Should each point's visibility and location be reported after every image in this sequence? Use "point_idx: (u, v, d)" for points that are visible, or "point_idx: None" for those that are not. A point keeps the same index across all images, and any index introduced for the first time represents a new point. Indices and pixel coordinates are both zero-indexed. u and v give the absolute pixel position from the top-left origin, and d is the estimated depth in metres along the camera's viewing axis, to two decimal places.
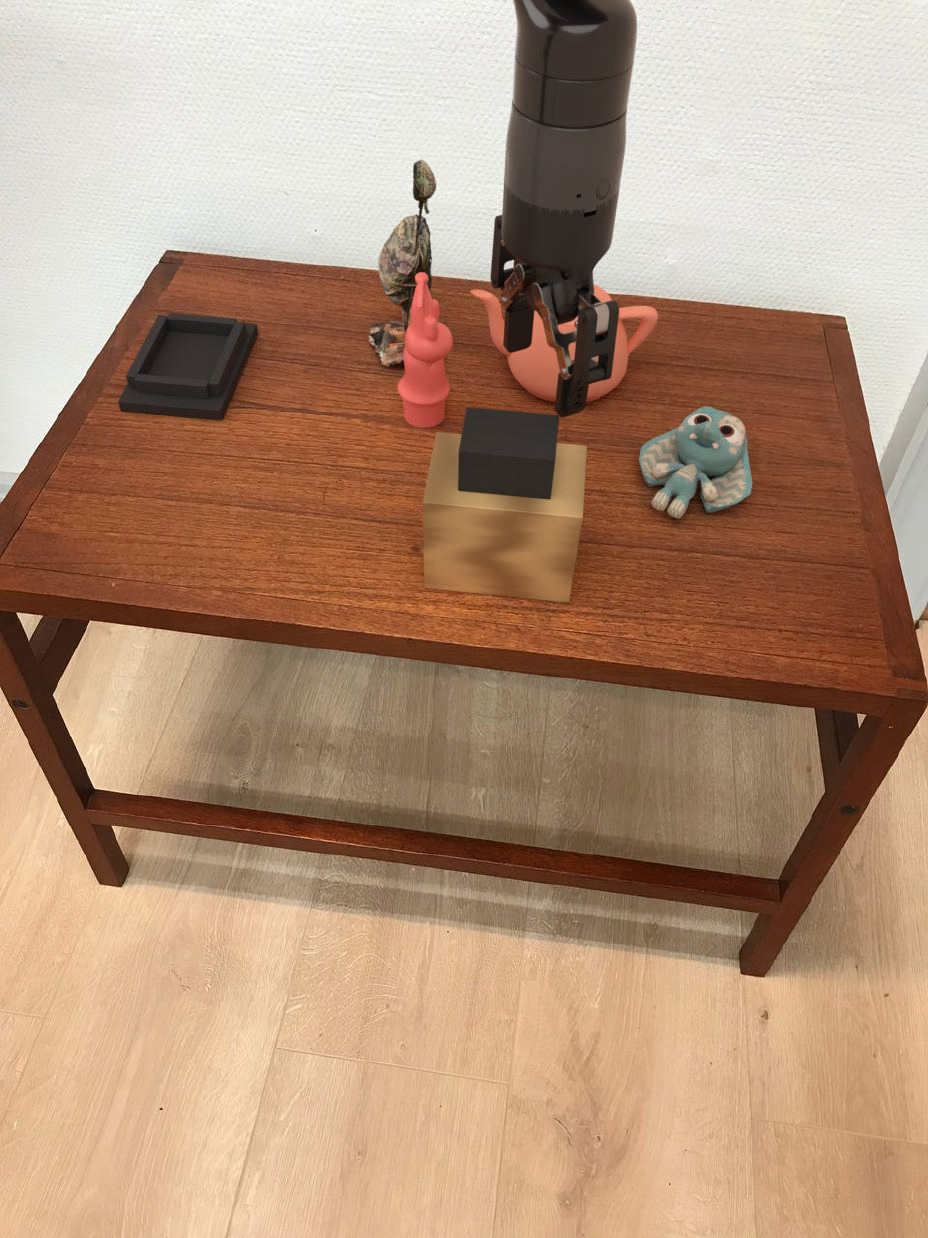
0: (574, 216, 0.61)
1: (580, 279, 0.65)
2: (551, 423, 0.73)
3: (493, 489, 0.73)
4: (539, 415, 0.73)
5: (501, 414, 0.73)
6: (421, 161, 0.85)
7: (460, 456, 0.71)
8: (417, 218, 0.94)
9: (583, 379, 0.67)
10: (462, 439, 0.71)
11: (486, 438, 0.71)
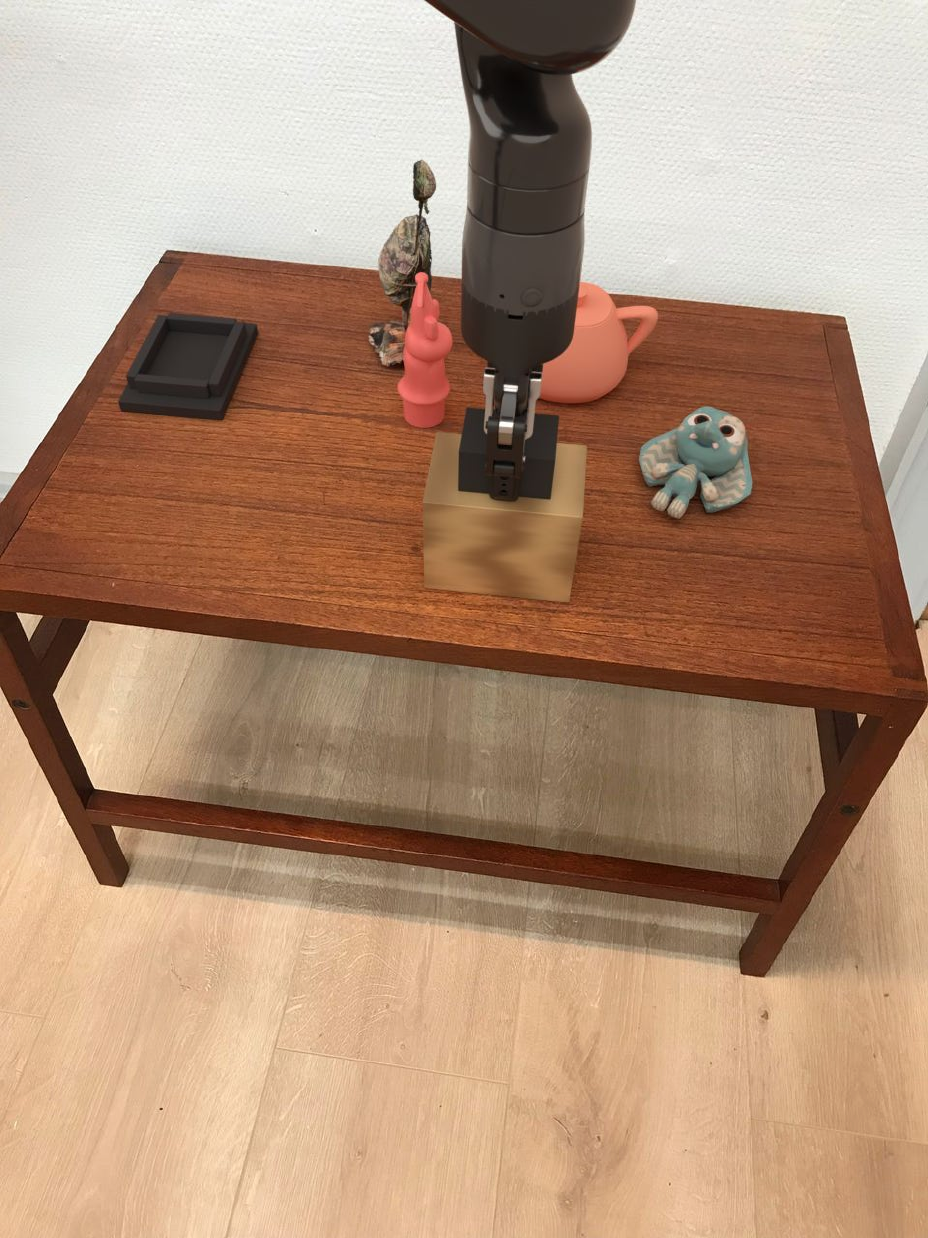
0: (498, 314, 0.60)
1: (509, 378, 0.63)
2: (551, 423, 0.73)
3: None
4: (539, 415, 0.73)
5: None
6: (421, 161, 0.85)
7: (460, 456, 0.71)
8: (417, 218, 0.94)
9: (488, 471, 0.67)
10: (462, 439, 0.71)
11: (486, 438, 0.71)
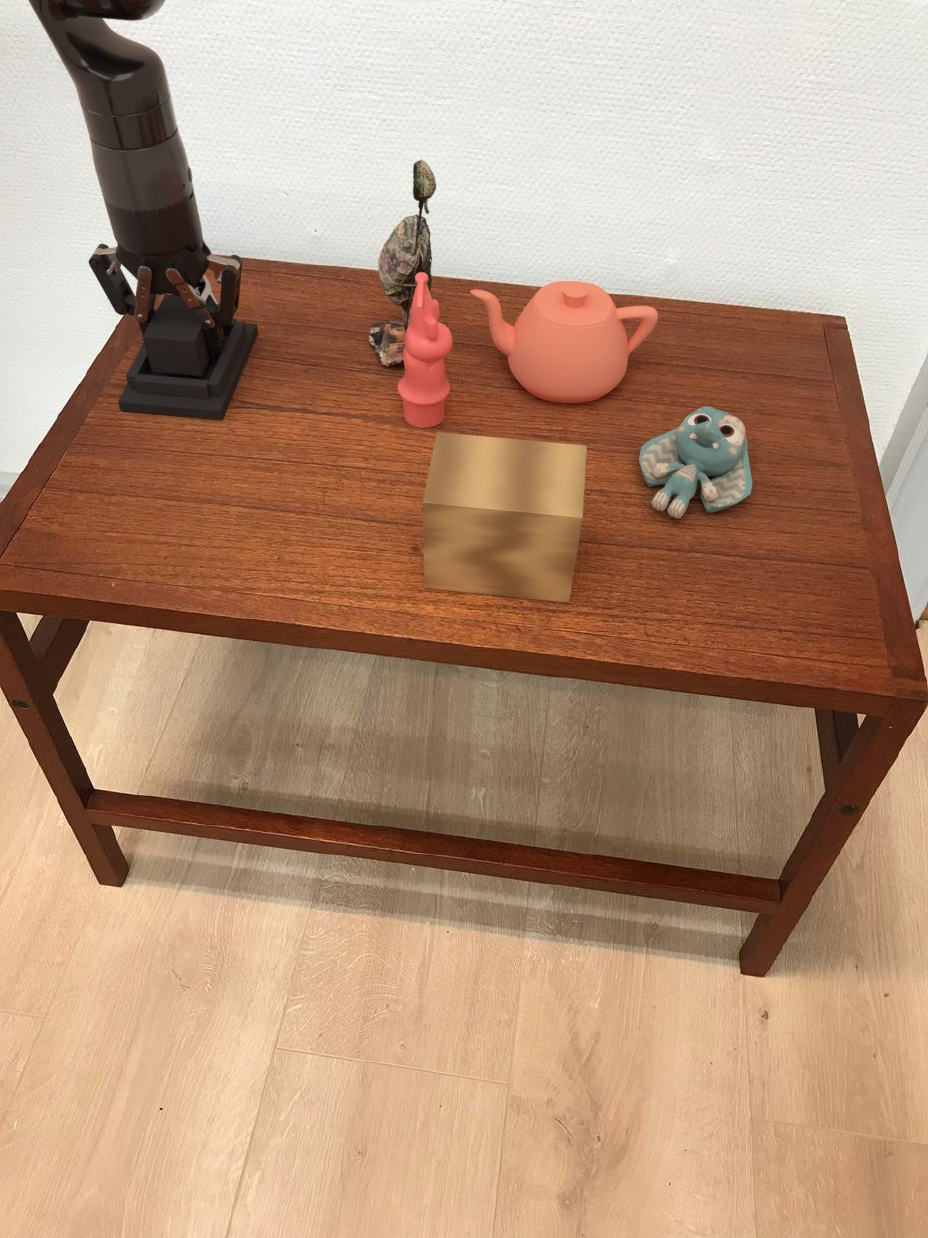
0: (186, 201, 0.82)
1: (201, 245, 0.87)
2: (173, 298, 0.95)
3: None
4: (163, 302, 0.94)
5: (156, 320, 0.93)
6: (421, 161, 0.85)
7: (195, 345, 0.91)
8: (417, 218, 0.94)
9: (232, 316, 0.91)
10: (181, 339, 0.91)
11: (183, 328, 0.92)
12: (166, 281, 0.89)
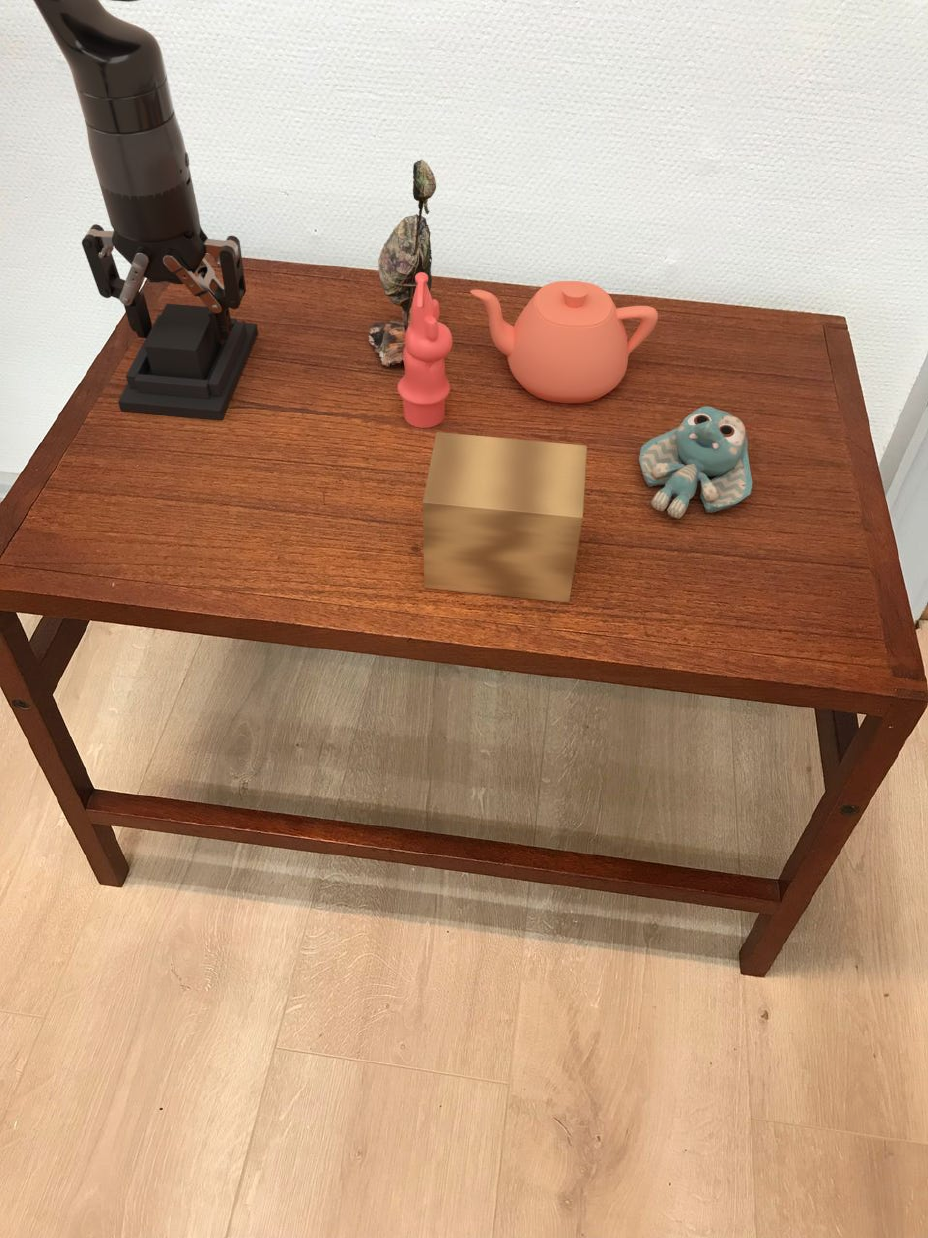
0: (183, 187, 0.82)
1: (198, 232, 0.86)
2: (175, 307, 0.96)
3: (210, 363, 0.96)
4: (164, 311, 0.95)
5: (158, 329, 0.93)
6: (421, 161, 0.85)
7: (197, 353, 0.92)
8: (417, 218, 0.94)
9: (239, 300, 0.90)
10: (183, 348, 0.92)
11: (185, 337, 0.93)
12: (163, 268, 0.88)
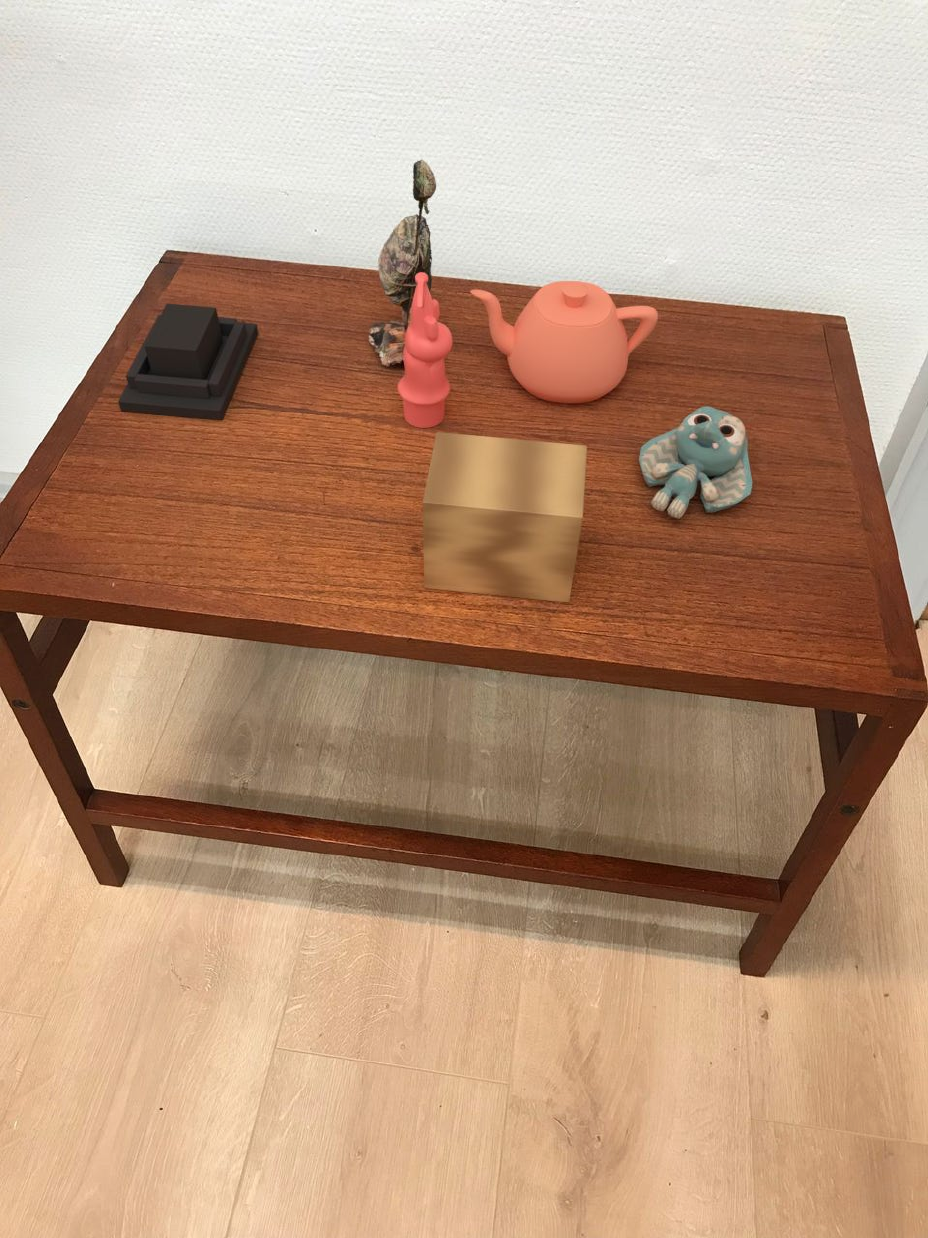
0: None
1: None
2: (175, 307, 0.96)
3: (210, 363, 0.96)
4: (164, 311, 0.95)
5: (158, 329, 0.93)
6: (421, 161, 0.85)
7: (197, 353, 0.92)
8: (417, 218, 0.94)
9: None
10: (183, 348, 0.92)
11: (185, 337, 0.93)
12: None
